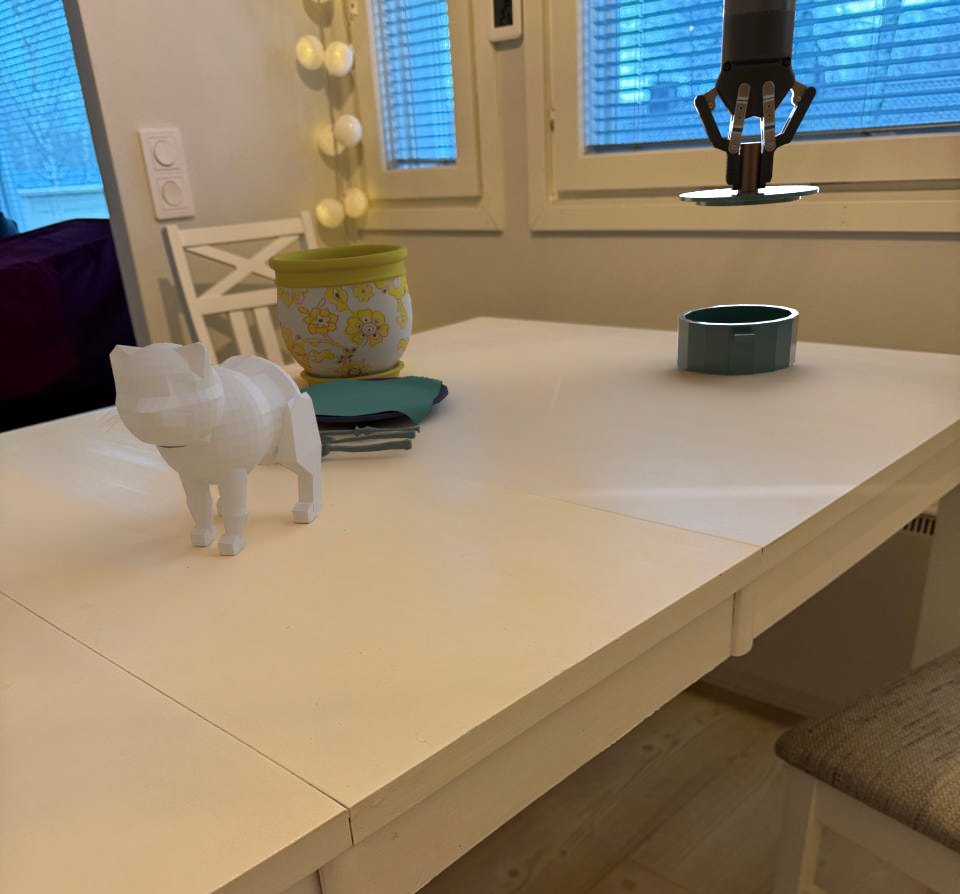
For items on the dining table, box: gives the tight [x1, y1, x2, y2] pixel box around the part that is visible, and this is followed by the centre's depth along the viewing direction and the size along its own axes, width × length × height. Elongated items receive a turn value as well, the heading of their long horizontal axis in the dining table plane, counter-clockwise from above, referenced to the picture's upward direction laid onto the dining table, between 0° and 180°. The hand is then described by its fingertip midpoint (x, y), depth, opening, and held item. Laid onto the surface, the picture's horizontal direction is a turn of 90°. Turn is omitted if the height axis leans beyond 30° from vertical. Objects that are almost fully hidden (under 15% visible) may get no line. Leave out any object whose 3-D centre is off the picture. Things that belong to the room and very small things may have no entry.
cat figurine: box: [98, 341, 323, 556], centre depth 77 cm, size 25×10×17 cm, turn 164°
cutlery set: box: [299, 375, 449, 458], centre depth 109 cm, size 20×30×2 cm, turn 176°
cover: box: [678, 141, 820, 207], centre depth 109 cm, size 16×16×6 cm
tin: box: [676, 304, 800, 376], centre depth 121 cm, size 15×20×6 cm
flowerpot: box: [268, 243, 413, 386], centre depth 127 cm, size 18×18×16 cm
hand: (748, 188), depth 110 cm, fingers closed on cover, 2 cm apart
